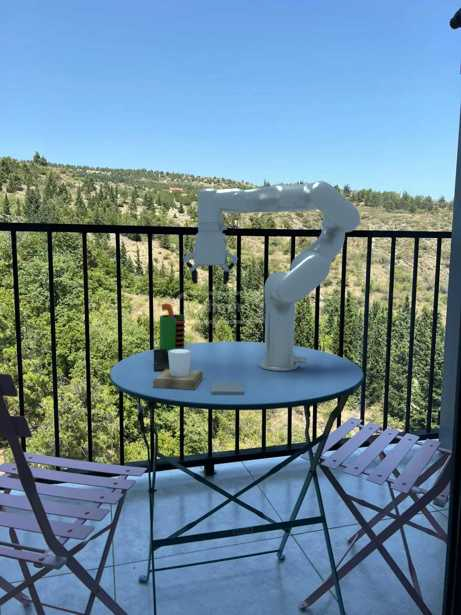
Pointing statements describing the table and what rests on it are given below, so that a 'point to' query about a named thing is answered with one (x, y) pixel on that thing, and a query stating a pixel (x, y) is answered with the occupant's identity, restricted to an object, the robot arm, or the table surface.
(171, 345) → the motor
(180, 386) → the stand
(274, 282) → the robot arm
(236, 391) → the slate coaster
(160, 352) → the handheld gaming console
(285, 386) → the table surface
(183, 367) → the white cup
